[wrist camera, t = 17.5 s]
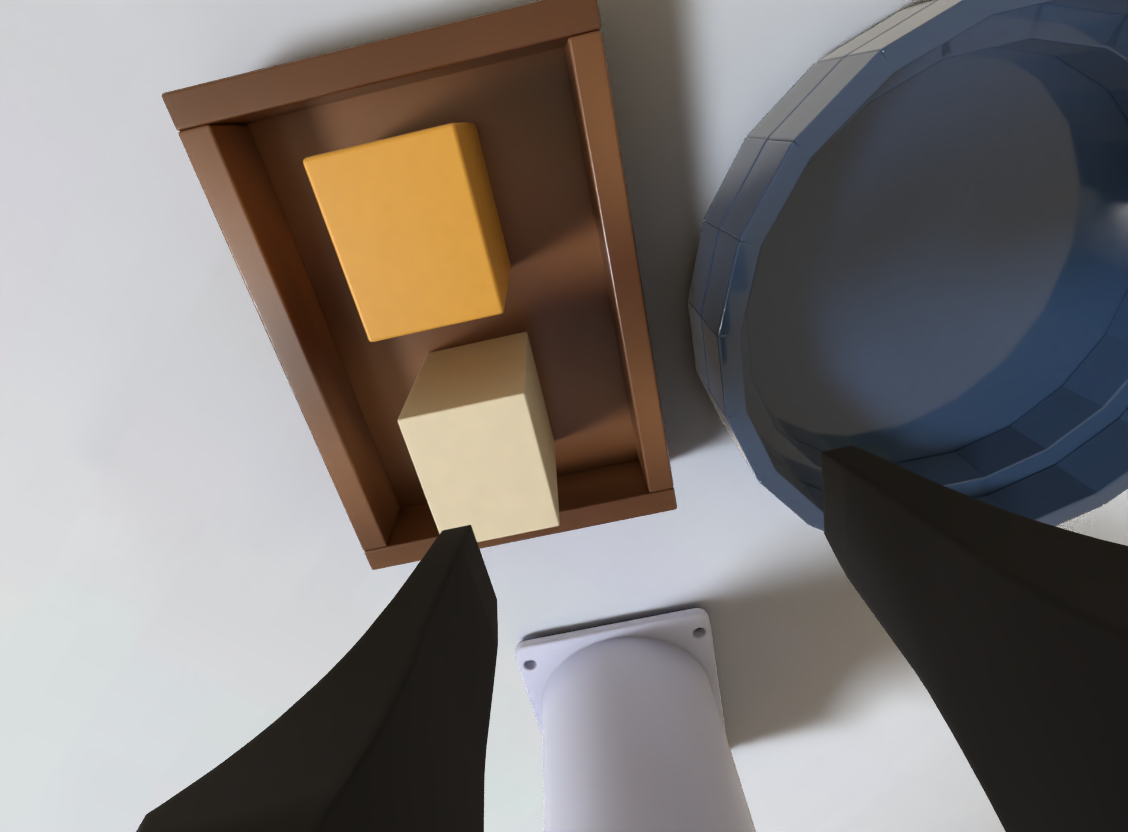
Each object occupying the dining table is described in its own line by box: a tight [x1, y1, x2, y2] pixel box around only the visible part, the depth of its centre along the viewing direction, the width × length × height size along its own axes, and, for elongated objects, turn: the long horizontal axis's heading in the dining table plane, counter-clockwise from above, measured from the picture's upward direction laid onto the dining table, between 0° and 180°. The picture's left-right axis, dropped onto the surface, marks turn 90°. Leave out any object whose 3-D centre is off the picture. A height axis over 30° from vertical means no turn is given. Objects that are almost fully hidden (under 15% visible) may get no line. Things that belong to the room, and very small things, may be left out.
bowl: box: [688, 0, 1128, 531], centre depth 18 cm, size 15×15×4 cm
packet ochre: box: [303, 122, 511, 342], centre depth 15 cm, size 4×3×5 cm
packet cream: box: [398, 332, 560, 542], centre depth 18 cm, size 4×3×5 cm
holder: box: [162, 0, 677, 570], centre depth 18 cm, size 14×10×3 cm
